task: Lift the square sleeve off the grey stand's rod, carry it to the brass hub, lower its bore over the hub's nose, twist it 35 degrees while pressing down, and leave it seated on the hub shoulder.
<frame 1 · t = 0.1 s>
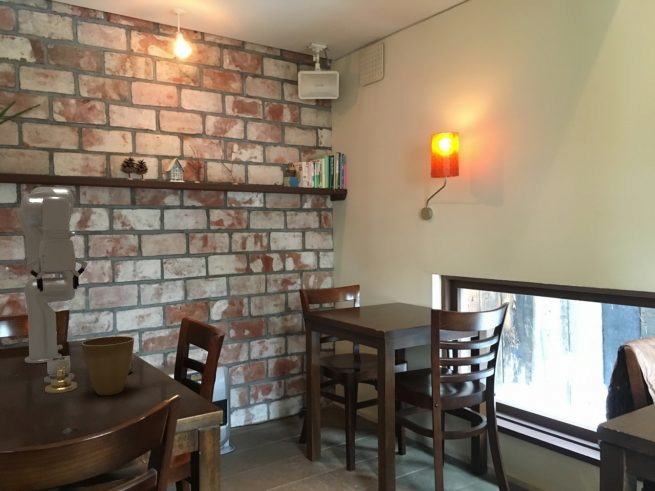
hand: (58, 290, 167), 31 cm above the table, tool pointing down, fingers open, 9 cm apart
stand: (59, 379, 177), on the table
hub: (61, 388, 166), on the table
square sleeve: (59, 370, 177), point 3 cm above the table, touching stand
plant pot: (109, 392, 163), on the table
fossil: (115, 375, 182), on the table
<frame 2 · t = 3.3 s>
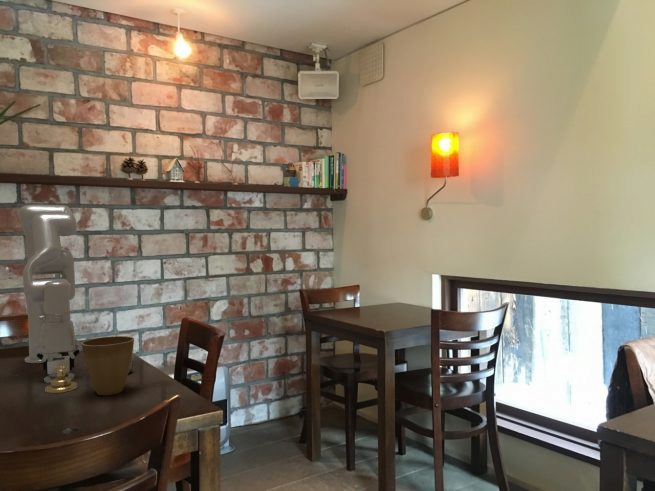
hand: (59, 370, 177), 3 cm above the table, tool pointing down, fingers closed on square sleeve, 6 cm apart
square sleeve: (59, 370, 177), point 3 cm above the table, touching gripper, stand
everything else where it was.
when the fingers open (3 cm above the table, at t = 8.8 s): square sleeve stays where it is, resting on hub.
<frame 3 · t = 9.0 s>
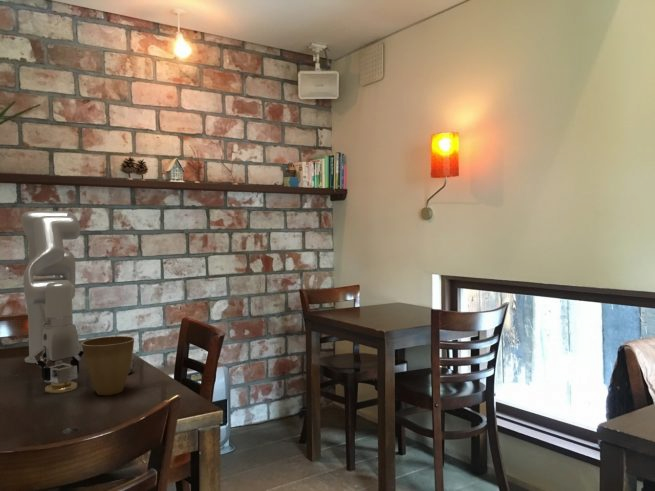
hand: (61, 376, 166), 4 cm above the table, tool pointing down, fingers open, 9 cm apart
square sleeve: (61, 379, 166), point 3 cm above the table, touching hub
everything else where it was.
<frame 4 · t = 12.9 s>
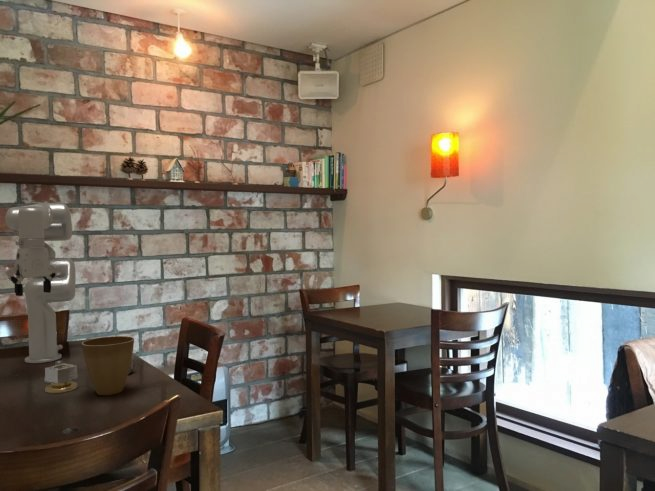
hand: (33, 294, 181), 28 cm above the table, tool pointing down, fingers open, 9 cm apart
nothing on the table moved.
at the end: square sleeve 0.1 cm off-centre on the hub, point 3.0 cm above the hub's base; square sleeve tilted 0°; the gripper is holding nothing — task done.
